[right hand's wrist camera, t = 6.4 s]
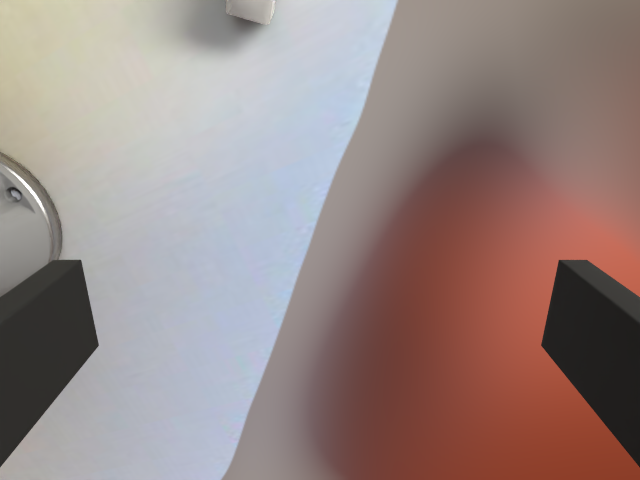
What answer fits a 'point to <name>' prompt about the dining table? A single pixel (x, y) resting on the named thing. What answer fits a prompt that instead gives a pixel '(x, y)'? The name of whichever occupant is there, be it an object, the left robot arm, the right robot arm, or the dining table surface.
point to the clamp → (252, 9)
